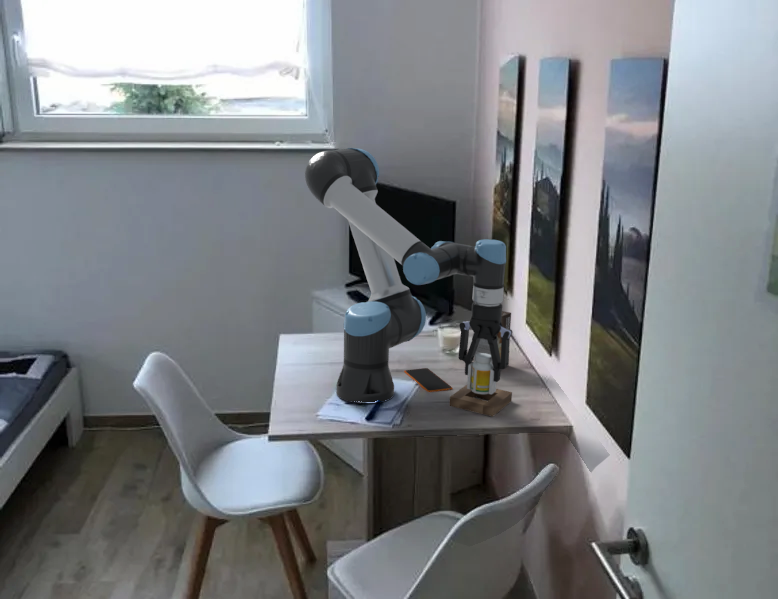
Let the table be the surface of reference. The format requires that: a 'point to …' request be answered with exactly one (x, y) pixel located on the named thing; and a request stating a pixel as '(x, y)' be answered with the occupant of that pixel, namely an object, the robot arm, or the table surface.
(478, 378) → the supplement bottle
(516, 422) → the table surface
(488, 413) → the holder block
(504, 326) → the coffee box
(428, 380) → the smartphone
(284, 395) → the table surface
